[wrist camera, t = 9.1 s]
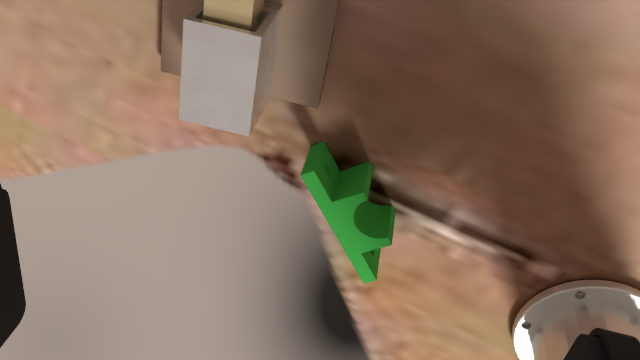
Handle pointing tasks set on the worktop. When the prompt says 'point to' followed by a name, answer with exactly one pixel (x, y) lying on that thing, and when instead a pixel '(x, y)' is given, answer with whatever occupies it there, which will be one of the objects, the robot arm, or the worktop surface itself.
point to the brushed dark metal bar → (235, 13)
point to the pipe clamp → (350, 209)
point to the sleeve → (227, 70)
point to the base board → (292, 51)
